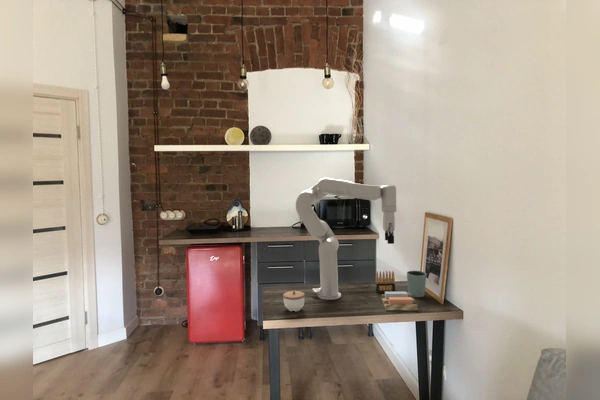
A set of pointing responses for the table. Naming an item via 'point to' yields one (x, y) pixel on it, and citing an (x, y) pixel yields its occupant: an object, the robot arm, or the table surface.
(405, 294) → the light grey rectangular bar
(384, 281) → the ammunition clip
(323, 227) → the robot arm
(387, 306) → the comb board
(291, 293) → the lidded jar
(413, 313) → the table surface
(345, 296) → the table surface
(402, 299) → the tan wooden block
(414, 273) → the green plant pot
